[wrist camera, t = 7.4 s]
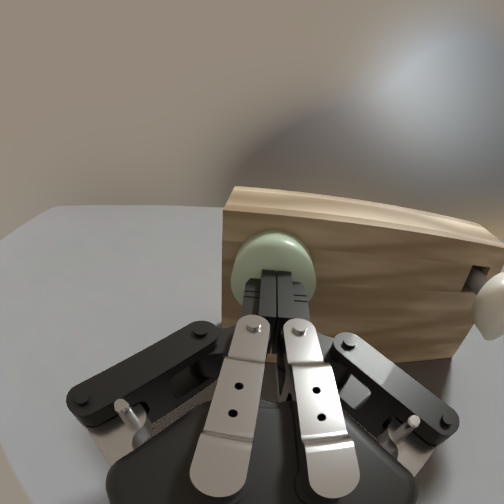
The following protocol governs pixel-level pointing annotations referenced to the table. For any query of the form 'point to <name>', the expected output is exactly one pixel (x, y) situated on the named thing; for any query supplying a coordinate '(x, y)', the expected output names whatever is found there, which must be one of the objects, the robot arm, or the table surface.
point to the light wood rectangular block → (371, 268)
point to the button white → (487, 303)
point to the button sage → (273, 260)
